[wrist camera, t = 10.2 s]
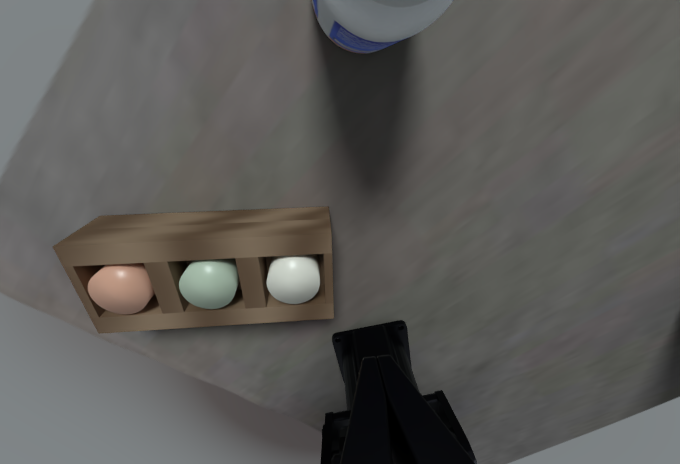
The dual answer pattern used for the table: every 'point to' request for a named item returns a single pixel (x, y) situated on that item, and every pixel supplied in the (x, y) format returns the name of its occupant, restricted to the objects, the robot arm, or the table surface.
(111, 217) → the wooden egg tray
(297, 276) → the white rounded piece
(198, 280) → the sage egg
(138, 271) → the peach oval piece
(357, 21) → the pill bottle
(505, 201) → the table surface
